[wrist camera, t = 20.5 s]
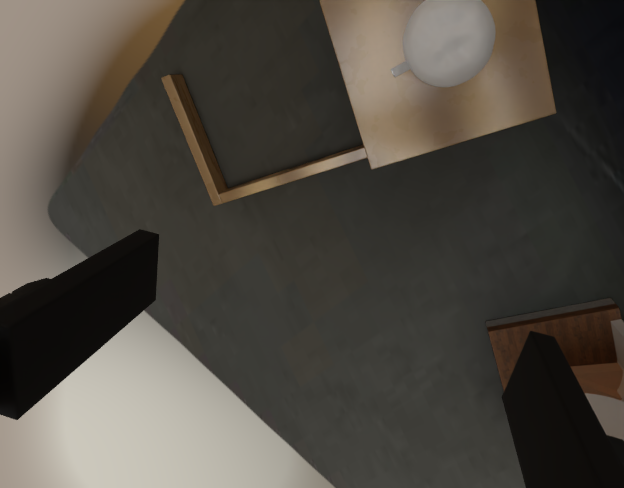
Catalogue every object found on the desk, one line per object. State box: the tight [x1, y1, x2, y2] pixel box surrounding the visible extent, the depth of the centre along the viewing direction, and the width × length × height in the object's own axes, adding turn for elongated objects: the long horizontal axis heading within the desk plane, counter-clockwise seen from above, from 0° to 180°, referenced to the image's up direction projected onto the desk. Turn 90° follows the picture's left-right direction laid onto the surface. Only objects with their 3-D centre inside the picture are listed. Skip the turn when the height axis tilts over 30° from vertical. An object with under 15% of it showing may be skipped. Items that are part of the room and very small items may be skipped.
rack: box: [161, 0, 556, 206], centre depth 38 cm, size 30×13×9 cm, turn 110°
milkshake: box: [391, 0, 496, 87], centre depth 26 cm, size 4×5×10 cm
